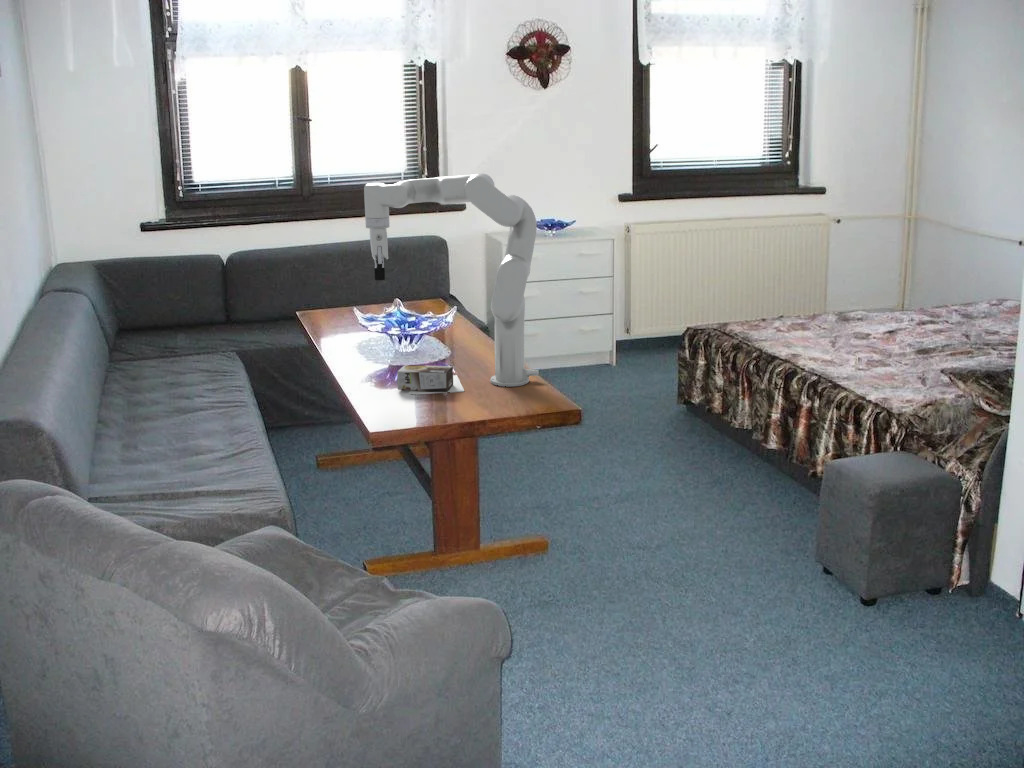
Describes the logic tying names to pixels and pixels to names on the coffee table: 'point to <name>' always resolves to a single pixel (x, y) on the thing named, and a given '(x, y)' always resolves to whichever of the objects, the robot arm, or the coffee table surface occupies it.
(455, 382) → the flat white panel
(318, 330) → the coffee table surface
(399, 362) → the coffee table surface
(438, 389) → the coffee box
